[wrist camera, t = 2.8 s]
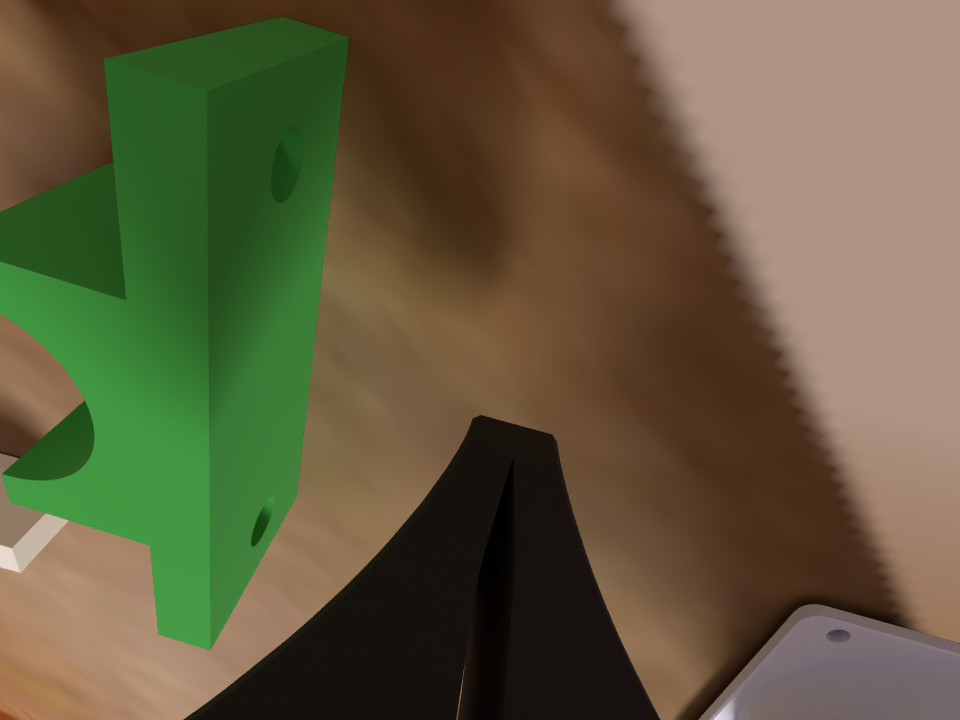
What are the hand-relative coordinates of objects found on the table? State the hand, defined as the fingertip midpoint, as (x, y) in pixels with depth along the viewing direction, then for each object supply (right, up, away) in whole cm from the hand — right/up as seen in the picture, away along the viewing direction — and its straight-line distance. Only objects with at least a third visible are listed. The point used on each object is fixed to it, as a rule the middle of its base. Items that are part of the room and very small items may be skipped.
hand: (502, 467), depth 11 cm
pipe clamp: (-5, +3, +3) cm, 7 cm away
